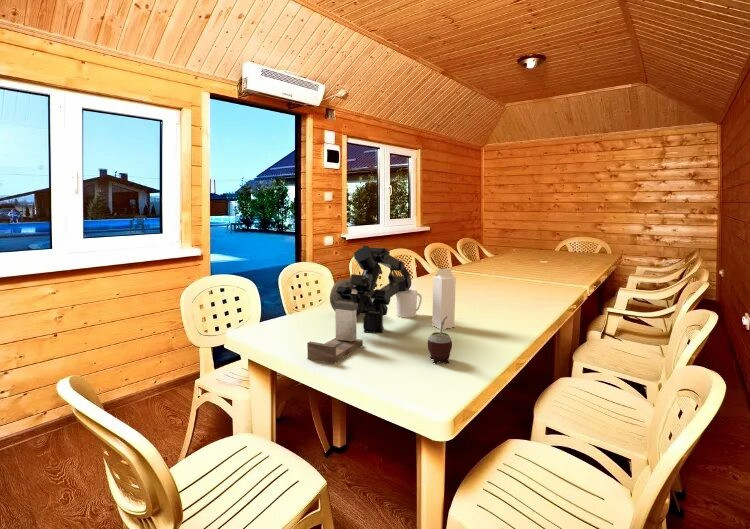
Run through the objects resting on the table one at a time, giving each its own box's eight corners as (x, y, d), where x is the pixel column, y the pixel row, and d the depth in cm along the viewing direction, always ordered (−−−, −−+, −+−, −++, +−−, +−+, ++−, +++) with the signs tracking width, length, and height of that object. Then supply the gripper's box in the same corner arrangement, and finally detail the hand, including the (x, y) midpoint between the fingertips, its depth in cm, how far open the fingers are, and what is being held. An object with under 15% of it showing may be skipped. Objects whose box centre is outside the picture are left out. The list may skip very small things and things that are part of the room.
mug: (392, 317, 176) (392, 292, 175) (399, 312, 185) (399, 288, 183) (418, 320, 172) (418, 294, 171) (424, 314, 181) (424, 290, 179)
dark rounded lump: (363, 320, 172) (363, 282, 170) (328, 319, 172) (327, 282, 170) (365, 311, 186) (365, 276, 184) (332, 311, 186) (331, 276, 184)
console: (339, 341, 146) (338, 327, 145) (362, 345, 142) (362, 330, 141) (307, 358, 130) (307, 342, 129) (333, 364, 126) (333, 347, 125)
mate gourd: (435, 355, 133) (436, 307, 131) (458, 361, 128) (459, 311, 126) (421, 362, 127) (422, 312, 125) (445, 368, 122) (446, 316, 120)
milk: (454, 328, 161) (456, 269, 158) (440, 330, 159) (442, 270, 156) (445, 324, 167) (447, 267, 164) (431, 325, 164) (433, 268, 161)
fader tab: (339, 336, 143) (338, 300, 142) (357, 339, 140) (357, 302, 139) (334, 338, 141) (333, 302, 139) (353, 341, 138) (353, 304, 136)
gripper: (337, 262, 151) (321, 301, 143) (386, 266, 142) (371, 307, 135) (349, 280, 159) (334, 317, 151) (396, 284, 151) (383, 324, 143)
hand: (354, 316), depth 145 cm, fingers closed
